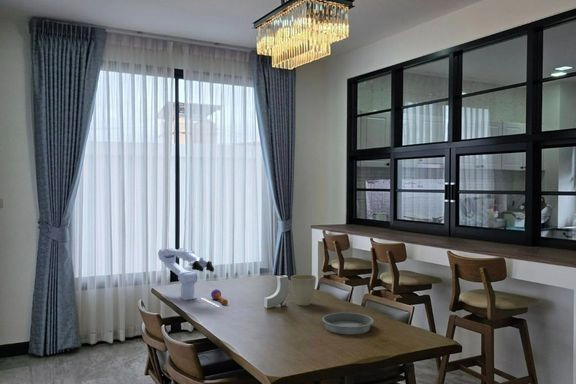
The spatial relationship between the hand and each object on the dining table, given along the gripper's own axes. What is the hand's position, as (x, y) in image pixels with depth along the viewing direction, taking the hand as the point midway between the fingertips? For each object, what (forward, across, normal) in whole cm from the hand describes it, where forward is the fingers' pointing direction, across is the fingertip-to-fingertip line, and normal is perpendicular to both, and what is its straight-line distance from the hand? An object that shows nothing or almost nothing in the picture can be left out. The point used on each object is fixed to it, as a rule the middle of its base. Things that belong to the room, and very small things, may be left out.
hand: (208, 270), depth 281 cm
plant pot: (+42, +41, +2) cm, 59 cm away
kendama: (+4, +13, +18) cm, 23 cm away
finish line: (+2, +7, +19) cm, 21 cm away
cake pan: (+88, +22, -8) cm, 91 cm away
